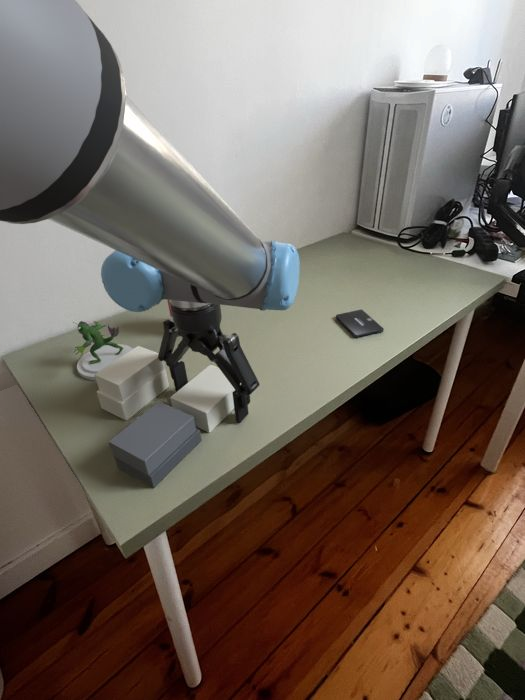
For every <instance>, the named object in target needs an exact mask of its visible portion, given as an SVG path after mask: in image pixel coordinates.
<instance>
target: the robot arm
mask: <svg viewBox="0 0 525 700" xmlns="http://www.w3.org/2000/svg"><path fill="white" fill-rule="evenodd" d="M126 91H127V89H126V80H125V76H124V70H123V66H122V63H121V61H120V59H119V57H118V54H117V52H116V50H115V49H114V47H113V45H112V43H111V42H110V41H109V40H108V38H107V37H106V36H105V34H104V32H103V31H102V30H101V29H100V28H99V27H98V26H97V24H96V23H95V22H94V21H93V20H92V19H91V17H90V16H89V14H87V12H86V11H85V10H84V9H83V8H82V6H81V5H80V3H79V2H78V1H77V0H0V222H3V223H7V224H13V225H27V224H36V223H39V222H42V221H46V220H48V221H51V222H53V223H56V224H58V225H60V226H61V227H65V228H66V229H69V230H71V231H73V232H75V233H78V234H79V235H81V236H84V237H86V238H88V239H90V240H93V241H95V242H96V243H99V244H101V245H104V246H106V247H108V248H110V249H113V252H111V253H110V254H109V255H108V256H107V257H105V259H104V260H103V262H102V264H101V269H100V277H101V282H102V284H103V288H104V290H105V292H106V294H107V295H108V297H109V298H110V299H111V300H112V301H113V302H114V303H115V304H116V305H118V306H119V307H120V308H122V309H124V310H126V311H129V312H132V313H133V312H134V313H142V312H145V311H148V310H150V309H152V308H153V307H155V306H158V305H160V303H161V301H163V300H167V301H168V300H169V302H170V303H171V311H172V316H170V317H168V318H167V319H165V320H163V321H162V324H163V334H162V338H161V343H160V346H159V350H158V353H159V354H158V359H159V360H160V361H163V362H164V363H165V364H166V366H167V367H168V369H169V373H170V378H171V379H172V380H173V385H174V389H175V393H176V392H177V391H179V390H180V389H181V388H182V387H183V386H185V385H186V384H187V383H188V382H189V380H188V375H187V369H186V364H185V361H183V360H182V359H183V357H184V356H185V354H186V353H187V352H188V351H189V350H190V349H191V352H194V353H200V354H201V355H202V356H206V357H207V359H208V360H209V361H210V362H212V363H214V364H215V366H216V367H218V368H219V369H220V370H221V371H222V373H223V374H224V375H225V377H226V378H227V379H228V381H229V382H230V384H231V385H232V386H233V388H234V389H235V391H233V392H232V393H233V402H234V409H233V410H234V417H235V422H236V423H237V424H241V423H242V422H243V420H244V419H245V418H247V416H248V415H249V405H250V403H251V395H252V394H253V393H254V392H255V391H256V389H258V388H259V387H260V381H259V380H258V378H257V376H256V374H255V372H254V370H253V368H252V366H251V364H250V362H249V360H248V358H247V356H246V355H245V352H244V350H243V348H242V346H241V342H240V337H239V335H238V334H237V333H236V332H233V333H231V334H230V335H229V334H224V333H223V331H222V329H221V323H222V317H223V316H222V309H221V308H222V307H221V305H222V306H229V307H237V308H238V307H239V308H246V309H247V308H248V309H254V310H260V311H262V312H263V311H286V310H288V309H290V308H291V307H292V305H293V304H294V302H295V300H296V297H297V294H298V289H299V282H300V270H301V269H300V256H299V253H298V250H297V248H296V247H295V246H294V245H293V244H292V243H287V242H286V243H285V242H279V241H275V240H270V241H263V240H261V239H260V238H259V237H258V236H257V235H256V234H255V233H254V231H252V230H251V228H250V227H249V226H248V225H247V224H246V223H245V222H244V221H243V220H242V218H240V216H239V215H238V214H237V213H236V212H235V211H234V210H233V208H231V206H230V205H228V203H227V202H226V201H225V200H224V198H222V196H220V195H219V193H217V191H216V190H215V189H214V188H213V187H212V186H211V185H210V184H209V183H208V181H207V180H205V178H204V177H203V176H202V175H201V174H200V173H199V172H198V170H196V169H195V167H194V166H193V165H192V164H191V163H190V162H189V161H188V160H187V159H186V157H184V155H183V154H182V153H181V152H180V151H179V150H178V149H177V148H176V147H175V146H174V145H173V143H171V141H170V140H169V139H168V138H167V137H166V136H165V135H164V134H163V133H162V131H160V129H159V128H158V127H156V125H155V124H154V123H153V122H152V120H150V118H148V117H147V116H146V114H145V113H144V112H143V111H142V110H141V109H140V108H139V106H137V105H136V103H135V102H133V100H132V99H131V98H130V97H129V96H128V95H127V92H126ZM178 332H179V333H178ZM178 335H180V336H181V340H180V342H179V343H178V344H177V347H176V348H175V345H176V341H177V337H178ZM217 349H219V350H218V351H217V352H216V353H214V352H215V351H216V350H217ZM240 383H241V385H240Z"/></svg>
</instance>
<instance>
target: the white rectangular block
mask: <svg viewBox="0 0 525 700" xmlns="http://www.w3.org/2000/svg"><path fill="white" fill-rule="evenodd" d="M240 385H241V383H240ZM233 391H235V389H234V388H233V386H232V385H231V384H230V382H229V381H228V379H227V378H226V377H225V375H224V374H223V373H222V371H221V370H220V369H219V367H218V366H217V365H212V364H209V365H208V366H206V367H205V368H204V369H203V370H201V372H199V373H198V374H197V375H195V376H194V377H193V378H192V379H191V380H189V381H188V383H187V384H186V385H185V386H183V387H182V388H181V389H180V390H179V391H177V392H176V391H175V393H173V394H172V395H171V396H170V397H169V399H170V404H171V407H173V408H175V409H178V410H180V411H182V412H184V413H187V414H189V415H191V416H193V417H194V422H195V427H196V428H197V429H199V430H202V431H204V432H207V433H209V434H210V433H211V432H212V431H213V430H214V429H215V428H216V427H217V426H218V425H219V424H221V422H222V421H224V420H225V419H226V418H227V417H228V415H229V414H230V413H232V412H233V410H234V402H233V393H232V392H233Z"/></svg>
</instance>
